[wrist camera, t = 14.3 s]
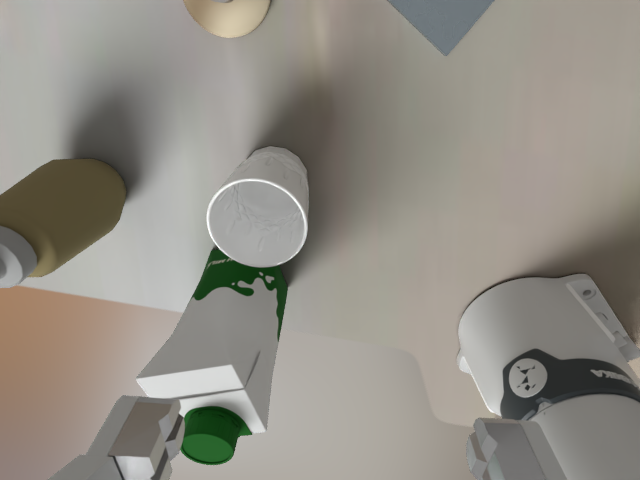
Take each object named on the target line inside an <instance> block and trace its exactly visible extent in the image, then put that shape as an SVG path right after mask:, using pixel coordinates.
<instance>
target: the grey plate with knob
mask: <svg viewBox="0 0 640 480" xmlns="http://www.w3.org/2000/svg"><path fill="white" fill-rule="evenodd" d="M388 1H389V2H390V3H391V4H392V5H393V6H394V7H395V8H396V9H397V10H398V11H399V12H400V13H401V14H402V15H403V16H404V17H405V18H406V19H407V20H408V21H409V22H410V23H411V24H412V25H413V26H414V27H415V28H416V29H417V30H418V31H419V32H420V33H422V34H423V35H424V36H425V37H426V38H427V39H428V40H429V41H430V42H431V43H432V44H433V45H434V46H435V47H436V48H437V49H438V50H439V51H440V52H441V53H442V54H443V55H444V56H447V55H448V54H449V53H450V51H451V50H452V49H453V48H454V47H455V46H456V44H457V43H458V42H459V41H460V40H461V39H462V37H463V36H464V35H465V34H466V33H467V32H468V30H469V29H470V28H471V27H472V26H473V25H474V23H475V22H476V21H477V20H478V19H479V18H480V16H481V15H482V14H483V13H484V12H485V11H486V9H487V8H488V7H489V6H490V5H491V4H492V2H493V1H494V0H388Z"/></svg>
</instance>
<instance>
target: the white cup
mask: <svg viewBox="0 0 640 480" xmlns="http://www.w3.org/2000/svg"><path fill="white" fill-rule="evenodd" d="M308 211H309V187H308V176H307V169H306V168H305V166H304V165H303V163H302V161H301V160H300V158H299V157H298V156H296V155H295V154H293V153H292V152H290V151H289V150H287V149H285V148H279V147H273V146H268V147H265V148H262V149H259V150H256V151H254V152H253V153H252V154H251V155H250V156H249V157H248V158H247V159H246V160H245V161H244V162H242V163H241V164H240V166H239V167H237V169H236V170H235V171H234V172H233V173H232V174H231V176H230V177H229V178H228V179H227V180H226V182H225V183H224V184H223V185H222V186H221V188H220V189H219V190H218V191H217V192H216V193H215V195H214V196H213V197H212V199H211V201H210V203H209V206H208V209H207V227H208V230H209V233H210V236H211V238H212V239H213V241H214V243H215V244H216V245H217V247H218V248H219V249H220V250H221V251H222V252H223V253H224V254H226V255H227V256H228V257H230V258H231V259H233V260H235V261H237V262H239V263H241V264H244V265H248V266H252V267H272V266H277V265H280V264H282V263H285V262H287V261H288V260H290V259H291V258H293V257H294V256H295V255H296V254H297V253H298V252H299V251H300V249H301V248H302V246H303V245H304V242H305V240H306V237H307V231H308Z"/></svg>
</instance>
